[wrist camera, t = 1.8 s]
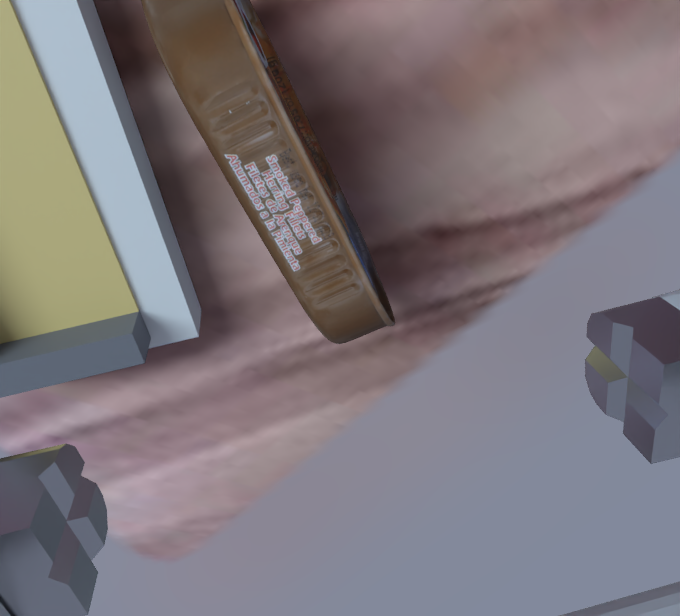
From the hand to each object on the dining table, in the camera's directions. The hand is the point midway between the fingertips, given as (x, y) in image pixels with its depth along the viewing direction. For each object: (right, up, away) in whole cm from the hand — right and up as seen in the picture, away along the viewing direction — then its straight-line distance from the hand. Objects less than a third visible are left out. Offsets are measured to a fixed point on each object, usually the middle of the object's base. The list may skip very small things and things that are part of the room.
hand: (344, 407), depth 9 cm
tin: (-3, +9, +16) cm, 18 cm away
